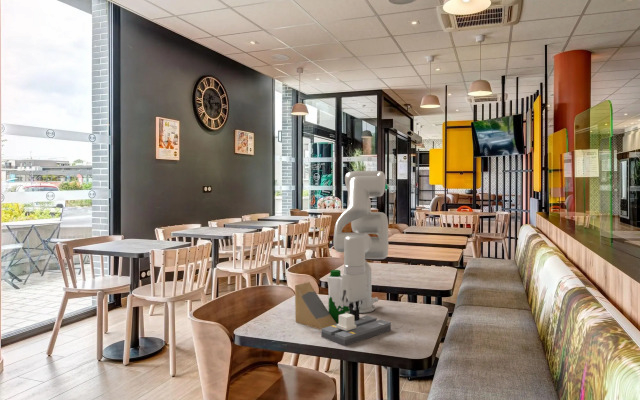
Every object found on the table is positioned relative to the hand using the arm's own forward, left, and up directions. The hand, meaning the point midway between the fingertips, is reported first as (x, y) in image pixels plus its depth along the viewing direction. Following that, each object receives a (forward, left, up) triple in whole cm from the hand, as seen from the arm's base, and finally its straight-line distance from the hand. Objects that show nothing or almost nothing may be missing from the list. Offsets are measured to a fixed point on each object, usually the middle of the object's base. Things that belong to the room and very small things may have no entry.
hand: (354, 319), depth 166 cm
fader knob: (+4, 0, -3) cm, 5 cm away
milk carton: (-7, -15, -6) cm, 18 cm away
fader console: (-1, 0, -5) cm, 6 cm away
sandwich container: (+2, -19, -6) cm, 20 cm away
